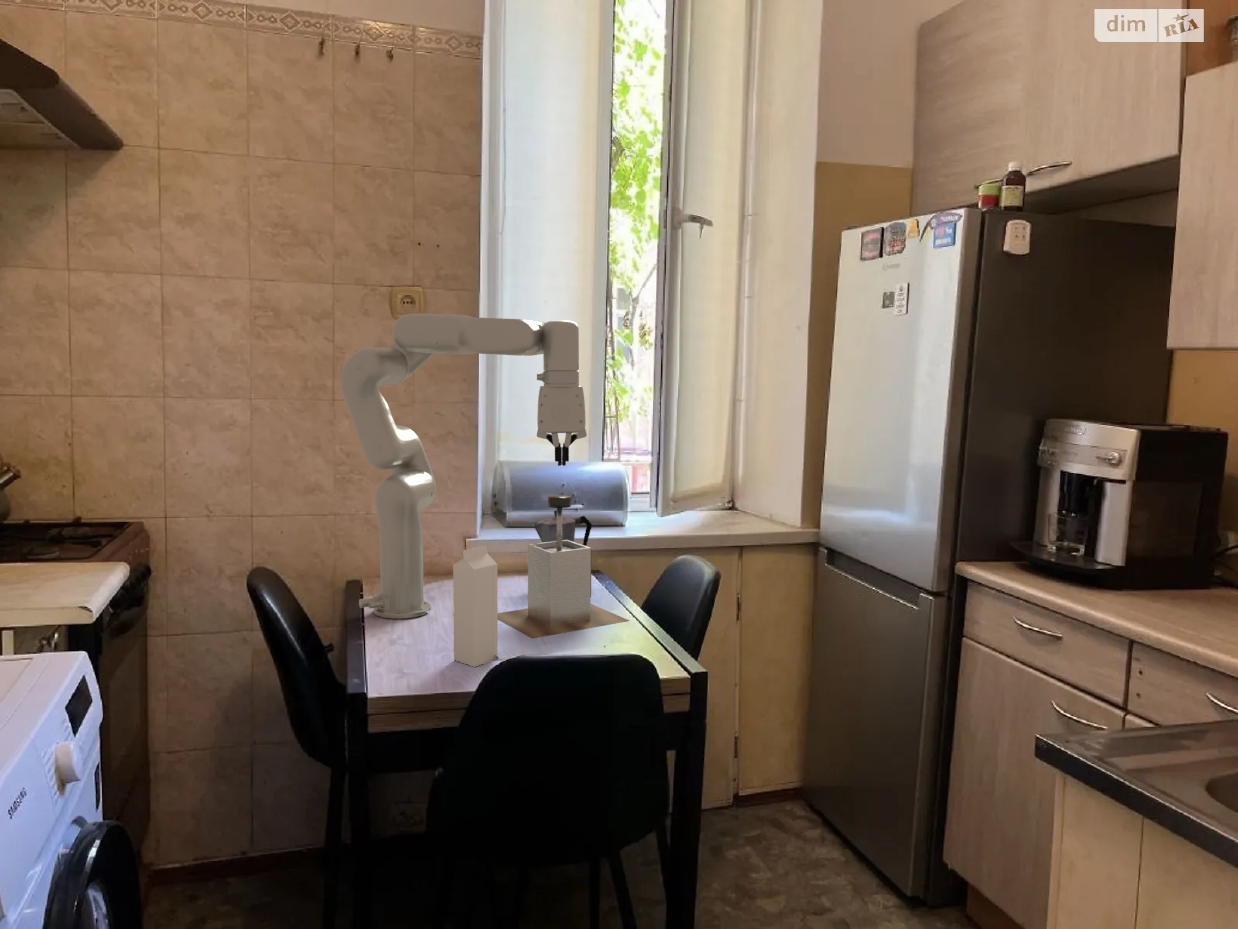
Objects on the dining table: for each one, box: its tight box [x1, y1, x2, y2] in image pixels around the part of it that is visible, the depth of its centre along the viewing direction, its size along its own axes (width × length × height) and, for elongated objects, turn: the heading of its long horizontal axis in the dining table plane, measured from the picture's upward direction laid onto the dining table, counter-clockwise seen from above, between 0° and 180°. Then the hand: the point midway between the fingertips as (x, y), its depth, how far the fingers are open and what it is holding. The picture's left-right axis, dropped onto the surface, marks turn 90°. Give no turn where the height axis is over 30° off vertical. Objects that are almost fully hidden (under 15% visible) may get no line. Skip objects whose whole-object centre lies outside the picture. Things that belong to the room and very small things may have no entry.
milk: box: [452, 545, 499, 668], centre depth 175 cm, size 6×6×22 cm
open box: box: [527, 540, 593, 627], centre depth 201 cm, size 13×10×16 cm
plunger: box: [545, 494, 572, 552], centre depth 199 cm, size 8×8×13 cm
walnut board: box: [497, 603, 630, 639], centre depth 201 cm, size 24×20×1 cm
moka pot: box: [532, 509, 593, 547], centre depth 231 cm, size 10×15×20 cm, turn 115°
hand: (561, 464), depth 197 cm, fingers closed
